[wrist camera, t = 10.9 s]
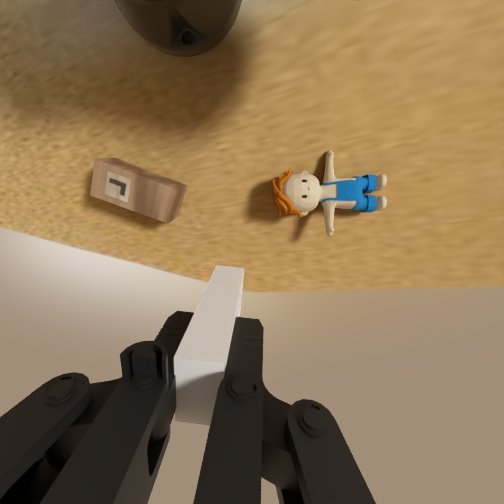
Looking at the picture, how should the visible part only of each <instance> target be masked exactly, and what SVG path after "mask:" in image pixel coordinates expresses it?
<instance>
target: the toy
mask: <svg viewBox="0 0 504 504" xmlns="http://www.w3.org/2000/svg"><path fill="white" fill-rule="evenodd" d="M333 156H334V153H333V152H332V151H331V150H329V151H328V152H327V154H326V162H325V173H324V179H323V183H322V184H321V185H319V181H318V179H317V178H316V177H315V176H314V175H310V174H308V173H307V171H303V172H301V174H300V173H298V174H293V175H291V174H292V172H291V171H290V169H289V171H285V172H284V173H282V174H281V176H280V177H275V178H274V179H273V189H272V190H273V193H274V194H275V197H274V200H275V203H276V205H277V206H278V208H279V211H280V212H279V215H278V216H280V215H281V214H282V211H284V216H286V215H287V214H292V213H293V214H298V215H299V216H300V217H303V216H304V215H307V214H308V212H310V211H312V210H314V209H315V207H316V206H317V205H318V202H319V201H320V203H321V204H322V206H323V210H324V215H325V224H326V233H327V235H328V236H329V237H331V236H332V233H333V231H334V228H333V218H334V210H335V208H341V209H347V210H360V211H361V212H373V211H380V210H383V209H385V208H386V204H387V201H386V197H385V196H378V197H376V196H371V195H365V196H363V195H362V193H371V192H372V191H379V190H381V189H383V188H384V187H385V185H386V179H387V178H386V175H379V176H376V175H365V176H363V177H352V178H342V179H339V178H336V177H335V176H334V168H333ZM288 168H289V167H288ZM278 216H277V217H278Z"/></svg>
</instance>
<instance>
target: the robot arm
mask: <svg viewBox="0 0 504 504" xmlns="http://www.w3.org/2000/svg"><path fill="white" fill-rule="evenodd" d="M115 1H116V3H117V5H118V7H119V9H120V10H121V12H122V14H123V15H124V17H125V18H126V19H127V21H128V22H129V24H130V25H131V26H132V27H133V28H134V29H135V30H136V31H137V32H138V33H139V34H140V35H141V36H142V37H143V38H144V39H145V40H146V41H147V42H148V43H150V44H151V45H152V46H154V47H155V48H157V49H159V50H160V51H162V52H165V53H167V54H170V55H174V56H182V57H187V56H194V55H198V54H201V53H204V52H206V51H208V50H210V49H211V48H213V47H214V46H215V45H217V44H218V43H219V42H220V41H221V40H222V39H223V38H224V37H225V35H226V34H227V33H228V31H229V30H230V28H231V27H232V25H233V23H234V21H235V19H236V17H237V14H238V11H239V8H240V5H241V1H242V0H115ZM243 276H244V268H237V267H228V266H219V265H216V267H215V269H214V271H213V274H212V276H211V278H210V280H209V282H208V284H207V287H206V289H205V291H204V293H203V295H202V297H201V300H200V302H199V304H198V306H197V308H196V310H195V313H192V312H183V311H177V312H175V313H174V314H173V315H171V316H170V317H168V319H167V320H166V322H165V324H164V325H163V328H162V329H161V330H160V332H159V335H157V337H156V339H155V340H154V341H142V342H138V343H135V344H133V345H131V346H129V347H127V348H126V349H125V350H124V351H123V352H122V353H121V354H120V359H121V367H122V375H123V376H122V377H121V378H119V379H115V380H111V381H105V382H99V383H92V384H90V383H89V379H88V377H86V376H85V375H84V374H81V373H75V372H74V373H67V374H63V375H60V376H57V377H55V378H53V379H51V380H49V381H48V382H46V383H44V384H43V385H42V386H40V387H39V388H38V389H36V390H35V391H34V392H32V393H31V394H30V395H29V396H27V397H26V398H25V399H23V400H22V401H21V402H19V403H18V404H17V405H16V406H14V407H13V408H12V409H11V410H9V411H8V412H7V413H6V414H4V415H3V416H1V417H0V504H147V503H148V500H149V497H150V494H151V491H152V489H153V485H154V483H155V479H156V477H157V474H158V471H159V468H160V465H161V462H162V459H163V456H164V453H165V450H166V448H167V445H168V442H169V438H170V424H171V421H172V419H173V416H174V413H175V420H176V421H180V422H188V423H196V424H204V425H210V429H209V434H208V438H207V443H206V447H205V452H204V457H203V461H202V466H201V471H200V475H199V480H198V484H197V489H196V494H195V499H194V503H193V504H261V477H262V478H264V479H266V480H267V481H269V482H271V483H273V484H274V485H276V489H277V494H278V499H279V504H376V503H375V501H374V499H373V497H372V495H371V493H370V491H369V489H368V487H367V484H366V482H365V480H364V478H363V476H362V474H361V472H360V470H359V468H358V466H357V464H356V462H355V460H354V457H353V455H352V453H351V452H350V449H349V447H348V445H347V443H346V441H345V439H344V437H343V435H342V433H341V431H340V428H339V427H338V424H337V422H336V420H335V418H334V417H333V416H332V414H331V413H330V411H329V410H328V409H327V408H325V407H324V406H323V405H322V404H320V403H318V402H315V401H313V400H305V399H302V400H299V401H296V402H295V403H294V404H293V405H290V404H288V403H285V402H283V401H281V400H279V399H277V398H275V397H274V396H273V395H272V394H270V393H269V392H268V390H267V389H266V388H265V386H264V383H263V380H262V362H263V326H262V324H261V323H260V321H259V319H251V318H242V317H239V316H240V309H241V298H242V287H243Z"/></svg>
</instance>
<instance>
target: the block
mask: <svg viewBox="0 0 504 504" xmlns="http://www.w3.org/2000/svg"><path fill="white" fill-rule="evenodd" d="M186 187H187V185H185V184H182V183H180V182H177V181H174V180H172V179H169V178H167V177H164V176H161V175H159V174H156V173H153V172H151V171H148V170H145V169H143V168H140V167H138V166H135V165H132V164H130V163H127V162H124V161H122V160H119V159H116V158H104V159H95V160H94V168H93V176H92V184H91V192H90V196H93V197H96V198H99V199H101V200H104V201H107V202H110V203H112V204H115V205H118V206H121V207H123V208H126V209H129V210H131V211H134V212H137V213H140V214H142V215H145V216H148V217H151V218H153V219H156V220H159V221H162V222H164V223H167V224H168V223H169V222H171V221H172V220H173V219H175V218H176V217H178V216H179V213H180V209H181V206H182V202H183V198H184V194H185V190H186Z"/></svg>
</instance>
